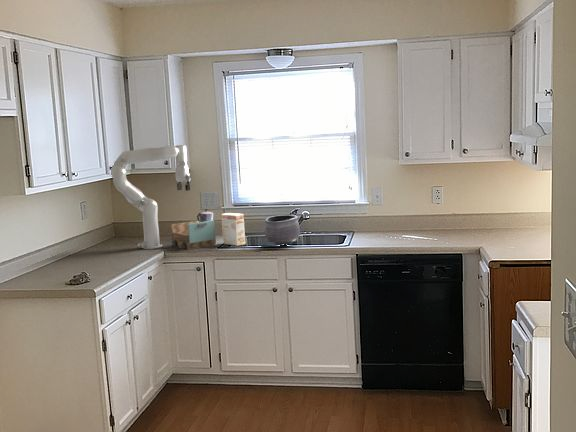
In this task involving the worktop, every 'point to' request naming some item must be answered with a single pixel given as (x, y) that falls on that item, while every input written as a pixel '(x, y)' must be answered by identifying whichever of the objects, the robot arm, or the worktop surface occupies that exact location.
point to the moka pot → (205, 216)
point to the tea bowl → (282, 229)
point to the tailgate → (201, 231)
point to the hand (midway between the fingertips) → (183, 190)
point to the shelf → (186, 237)
